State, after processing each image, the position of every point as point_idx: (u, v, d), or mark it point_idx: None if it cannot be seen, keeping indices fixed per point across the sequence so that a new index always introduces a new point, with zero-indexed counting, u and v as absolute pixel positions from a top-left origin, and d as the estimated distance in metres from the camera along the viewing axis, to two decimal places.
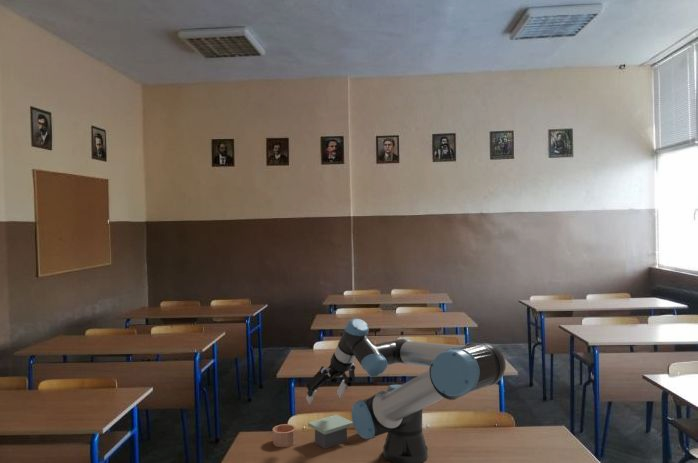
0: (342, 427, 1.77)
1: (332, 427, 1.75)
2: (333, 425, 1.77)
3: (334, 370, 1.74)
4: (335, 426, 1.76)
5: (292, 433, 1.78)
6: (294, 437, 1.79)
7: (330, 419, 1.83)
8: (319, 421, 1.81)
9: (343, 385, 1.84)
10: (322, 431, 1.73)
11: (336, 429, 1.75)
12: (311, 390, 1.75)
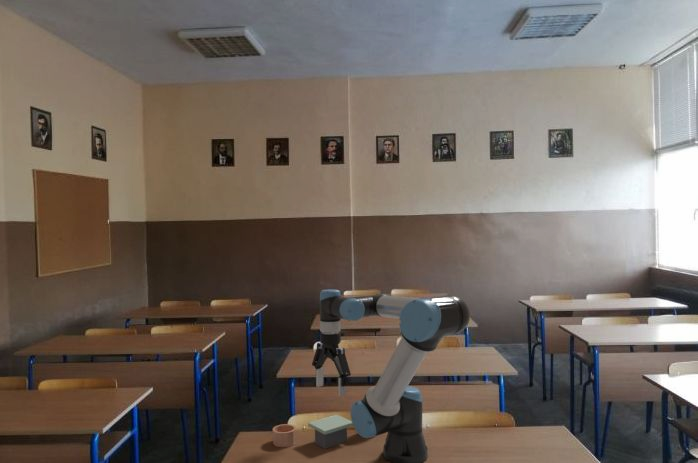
0: (342, 427, 1.77)
1: (332, 427, 1.75)
2: (333, 425, 1.77)
3: (324, 346, 1.82)
4: (335, 426, 1.76)
5: (292, 433, 1.78)
6: (294, 437, 1.79)
7: (330, 419, 1.83)
8: (319, 421, 1.81)
9: None
10: (322, 431, 1.73)
11: (336, 429, 1.75)
12: None
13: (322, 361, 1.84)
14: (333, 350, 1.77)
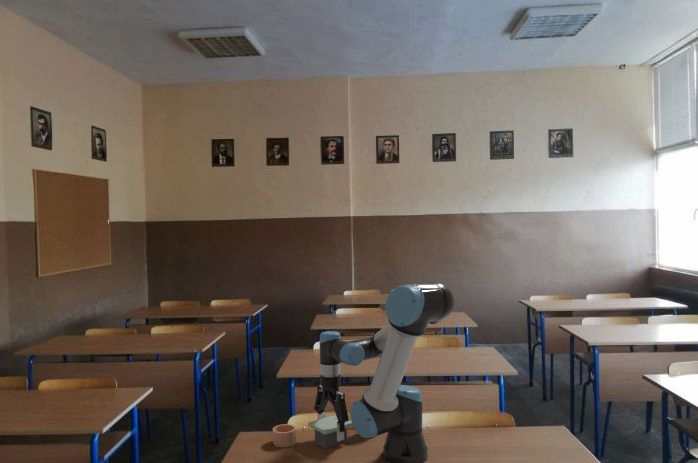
0: None
1: (332, 427, 1.75)
2: (333, 425, 1.77)
3: (324, 387, 1.82)
4: (335, 426, 1.76)
5: (292, 433, 1.78)
6: (294, 437, 1.79)
7: (330, 419, 1.83)
8: (319, 421, 1.81)
9: None
10: (322, 431, 1.73)
11: (336, 429, 1.75)
12: None
13: (324, 405, 1.83)
14: (333, 393, 1.77)
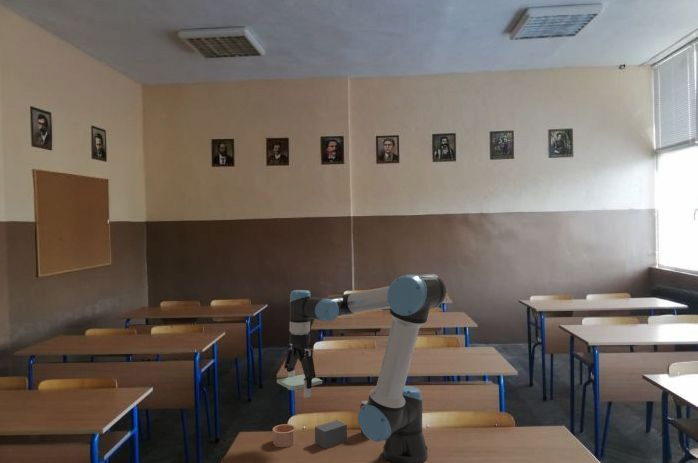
0: None
1: (299, 384, 1.76)
2: (301, 382, 1.78)
3: (293, 345, 1.83)
4: (302, 383, 1.77)
5: (292, 433, 1.78)
6: (294, 437, 1.79)
7: (299, 377, 1.84)
8: (288, 378, 1.82)
9: None
10: (289, 387, 1.74)
11: (303, 386, 1.76)
12: (287, 370, 1.86)
13: (293, 363, 1.84)
14: (301, 351, 1.78)
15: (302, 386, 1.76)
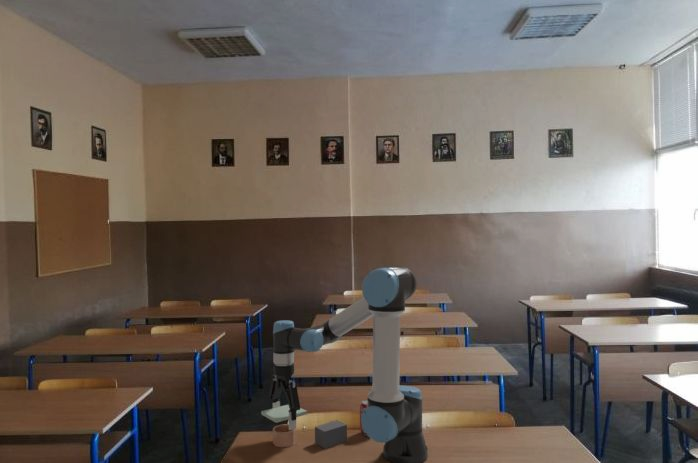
0: None
1: (284, 415, 1.76)
2: (286, 414, 1.78)
3: (277, 376, 1.82)
4: (287, 415, 1.76)
5: (292, 433, 1.78)
6: (294, 437, 1.79)
7: (284, 408, 1.84)
8: (272, 410, 1.82)
9: None
10: (273, 419, 1.74)
11: (288, 417, 1.76)
12: None
13: (278, 394, 1.84)
14: (286, 382, 1.78)
15: (287, 418, 1.75)
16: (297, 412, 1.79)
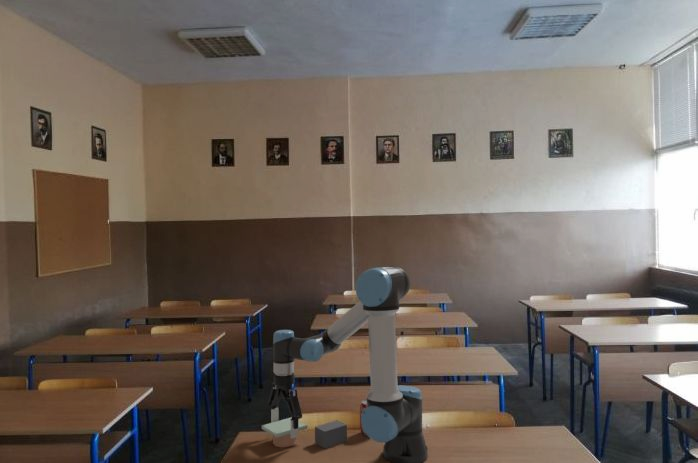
0: None
1: (284, 430, 1.76)
2: (286, 428, 1.77)
3: (278, 386, 1.82)
4: (287, 429, 1.76)
5: None
6: None
7: (284, 422, 1.84)
8: (272, 424, 1.82)
9: None
10: (274, 434, 1.74)
11: (288, 432, 1.76)
12: (271, 407, 1.87)
13: (277, 401, 1.84)
14: (286, 392, 1.78)
15: (287, 432, 1.75)
16: None
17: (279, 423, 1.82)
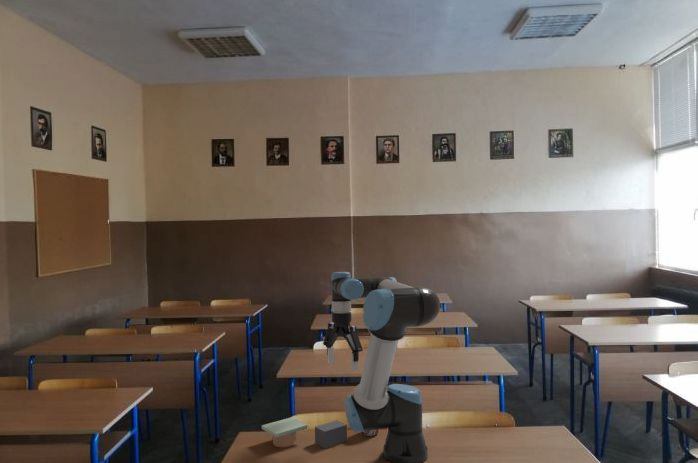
0: (295, 430, 1.77)
1: (284, 430, 1.76)
2: (286, 428, 1.77)
3: (335, 325, 1.93)
4: (287, 429, 1.76)
5: (292, 433, 1.78)
6: (294, 437, 1.79)
7: (284, 422, 1.84)
8: (272, 424, 1.82)
9: None
10: (274, 434, 1.74)
11: (288, 432, 1.76)
12: (326, 346, 1.97)
13: (333, 340, 1.95)
14: (345, 328, 1.88)
15: (287, 432, 1.75)
16: (297, 426, 1.79)
17: (279, 423, 1.82)
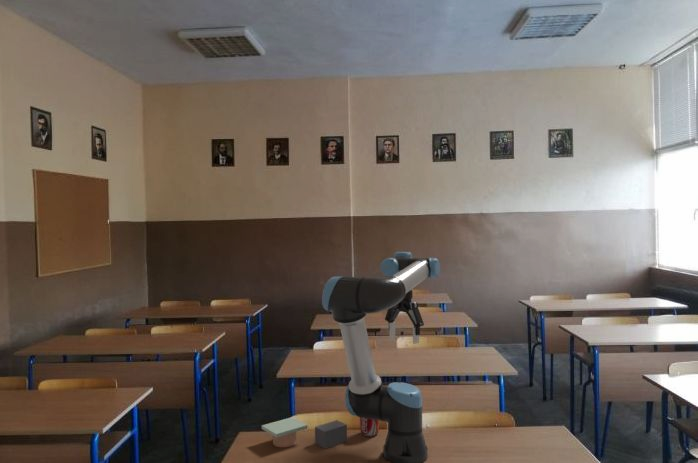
0: (295, 430, 1.77)
1: (284, 430, 1.76)
2: (286, 428, 1.77)
3: None
4: (287, 429, 1.76)
5: (292, 433, 1.78)
6: (294, 437, 1.79)
7: (284, 422, 1.84)
8: (272, 424, 1.82)
9: None
10: (274, 434, 1.74)
11: (288, 432, 1.76)
12: None
13: (395, 315, 2.08)
14: (407, 304, 2.01)
15: (287, 432, 1.75)
16: (297, 426, 1.79)
17: (279, 423, 1.82)
